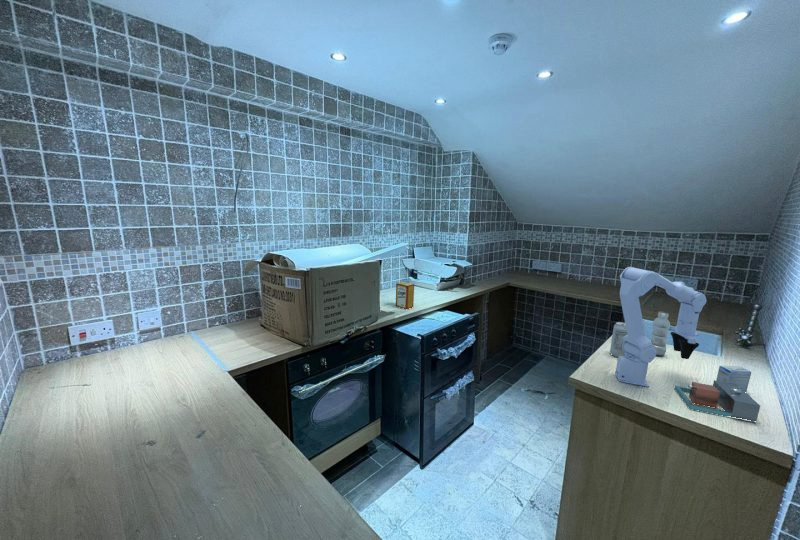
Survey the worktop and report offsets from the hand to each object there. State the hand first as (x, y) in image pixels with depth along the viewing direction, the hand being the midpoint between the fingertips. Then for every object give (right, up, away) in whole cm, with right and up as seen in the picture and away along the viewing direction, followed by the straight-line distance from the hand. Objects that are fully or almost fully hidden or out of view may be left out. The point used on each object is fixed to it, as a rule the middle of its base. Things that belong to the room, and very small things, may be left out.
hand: (680, 354), depth 128 cm
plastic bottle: (+9, -6, +24) cm, 26 cm away
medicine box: (+13, -12, -6) cm, 19 cm away
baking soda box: (-106, +9, +86) cm, 137 cm away
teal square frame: (-3, -13, -16) cm, 21 cm away
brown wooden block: (-5, -13, -15) cm, 20 cm away
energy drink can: (-11, -6, +21) cm, 25 cm away
